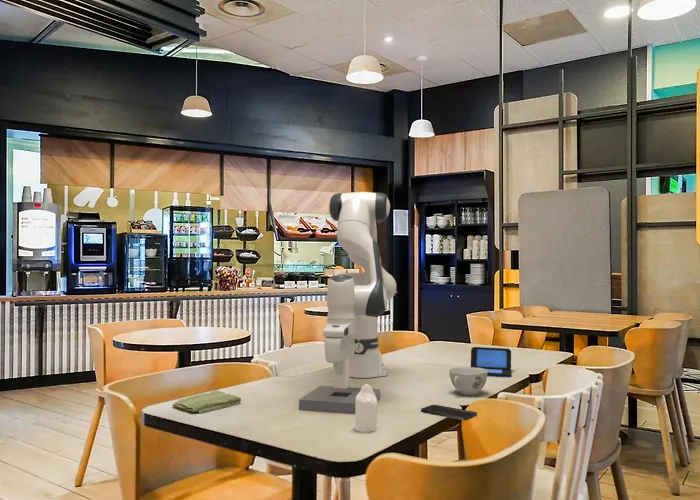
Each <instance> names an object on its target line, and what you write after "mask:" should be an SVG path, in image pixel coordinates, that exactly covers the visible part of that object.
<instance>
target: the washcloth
mask: <svg viewBox="0 0 700 500" xmlns="http://www.w3.org/2000/svg"><path fill="white" fill-rule="evenodd" d="M241 402H242V398H241V396H238V395H235V394H234V395H233V394H231V393H226V392H224V391H221V390H213V391H209V392H206V393H204V392H203V393H201V394H198V395H193V396H190V397H185V398H181V399H178V400H177V401H175V402H174V403H172V407H174V408H176V409H179V410H182V411H188V412H192V413H195V414H199V415H201V414H205V413H209V412H213V411H217V410H222V409H225V408H229V407H233V406H237V405H239V404H240V403H241Z"/></svg>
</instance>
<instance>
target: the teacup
mask: <svg viewBox="0 0 700 500" xmlns="http://www.w3.org/2000/svg"><path fill="white" fill-rule="evenodd" d="M448 371H449V378H450V381H451V383H452V385H453V387H454V389H456V390H457V392H458V393H459V394H460V395H463V396H477V395H479V393H480V391H482V389H483V388H484V387H485V385H486V383H487V378H488V376H487V373H488V371H487V370H486V369H484V368H474V367H471V366H469V367H467V366H466V367H463V366H461V367H459V366H457V367H452V368H450V369H449V370H448Z"/></svg>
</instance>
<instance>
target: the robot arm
mask: <svg viewBox="0 0 700 500" xmlns="http://www.w3.org/2000/svg"><path fill="white" fill-rule="evenodd" d="M390 209H391V203H390V200H389V197H388V196H387V195H386V193H383V192H379V191H378V192H372V191H371V192H370V191H356V192H355V191H354V192H353V191H352V192H344V193H343V192H337V193H335V194H333V195H332V196H331V197H330V200H329V203H328V213H329V215H330V217H331V219H332V220H333V221H336V222H337V227H336V228H337V229H336V239H337V242H338V245H339V246H340V247H341V248H342V249H343V250H344V251H345V252H347V255H348V258H349V260H350V261H351V262H352V263H354V264H356V265H358V266H360V267H361V268H363V270H364V272H343V273H338V274H334V275H333V276H331V277H330V278H329V279H328V284H327V293H326V307H327V310H328V311H327V317H326V324H325V327H324V328H323V330H322V331H323V332H322V337H324V356H325V361H326V363H328V364H333V363H334V367H335V375H341V374H342V369H341V363H342V360H344V359H345V358H347V357H349V378H357V379H358V378H363V379H369V378H370V379H371V378H377V377H386V376H388V367H387V366H385V365H384V362H383V359H382V358H383V356H382V352H381V351H380V349H379V337H378V319H377V318H378V317H380V316H381V315H383V314H384V313H385V312H386V310H387V308H388V301H389V300H391V299H392V298H394V296H395V295H396V293H397V282H396V280H395V278H394V277H393V275H391V274H390V273H389V272H388V271H386V269H385V268H384V267H383V265H382V258H381V252H380V247H379V245H378V229H377V224H378V225H379V224H380V223H381V222H384V221H385V220H386V219H388V216H389V214H390V212H391V211H390Z"/></svg>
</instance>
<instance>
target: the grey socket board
mask: <svg viewBox="0 0 700 500" xmlns="http://www.w3.org/2000/svg"><path fill="white" fill-rule="evenodd" d="M361 388H362V387H350V386H348V387H347V388H346V389H345V388H333V385H332V386H331V385H319V386H318V387H316V388H315V389H313V390H311V391H310V392H308V393H307V394H305V395H304V396H302V397H301V398H299V399H298V410H299V411H313V412H323V413H325V412H326V413H338V414H353V415H355V399H356V396H357V395H358V393H359V392H360V390H361ZM372 389H373V391H374V393H375V395H376V398H377V402H378V401H379V400H380V399H381V389H380V388H379V389H378V388H372Z"/></svg>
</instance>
